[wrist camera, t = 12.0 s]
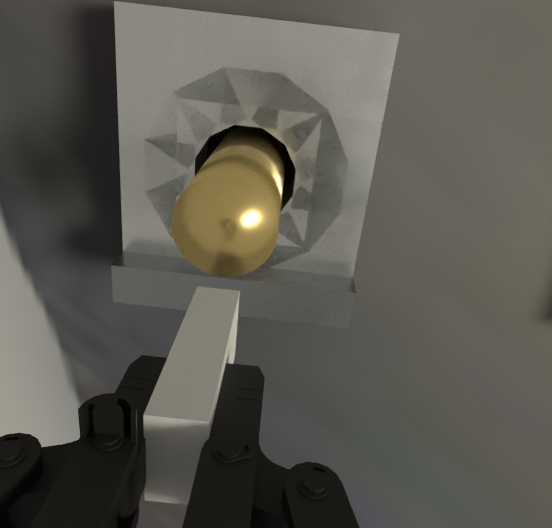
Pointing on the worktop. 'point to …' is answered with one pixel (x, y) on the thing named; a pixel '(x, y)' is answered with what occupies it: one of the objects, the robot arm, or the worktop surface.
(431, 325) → the worktop surface
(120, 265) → the jig
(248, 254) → the gold brass cylinder
